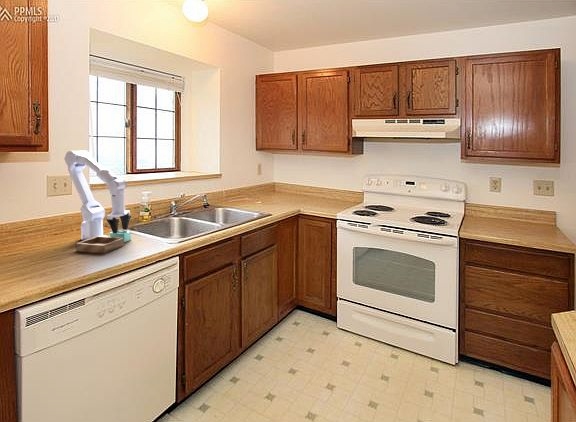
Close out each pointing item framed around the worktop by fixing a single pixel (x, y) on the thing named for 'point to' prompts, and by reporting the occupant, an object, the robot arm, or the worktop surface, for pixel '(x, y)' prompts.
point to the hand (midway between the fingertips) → (120, 231)
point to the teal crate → (122, 235)
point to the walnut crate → (100, 244)
